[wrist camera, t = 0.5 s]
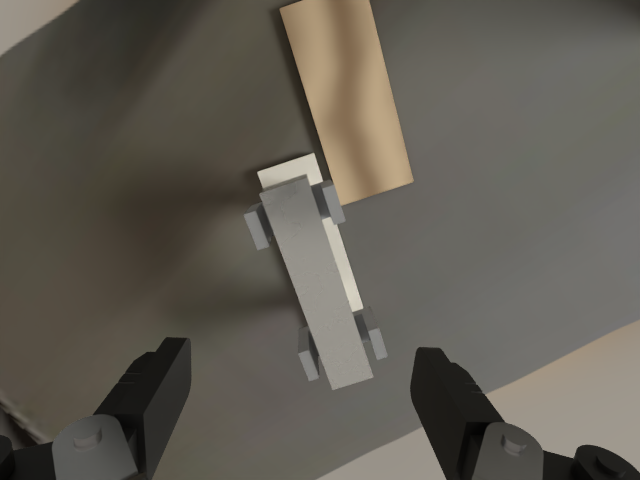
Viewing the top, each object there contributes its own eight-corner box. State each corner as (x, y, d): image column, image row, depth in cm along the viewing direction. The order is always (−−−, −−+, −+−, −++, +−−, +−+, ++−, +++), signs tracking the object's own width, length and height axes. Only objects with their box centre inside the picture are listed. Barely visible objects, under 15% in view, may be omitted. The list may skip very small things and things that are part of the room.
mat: (362, -19, 32) (363, -22, 31) (411, 181, 37) (413, 181, 36) (279, 10, 32) (279, 8, 31) (340, 204, 37) (340, 205, 37)
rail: (306, 173, 27) (307, 177, 24) (365, 352, 32) (373, 377, 28) (264, 187, 27) (259, 193, 24) (329, 363, 32) (332, 389, 29)
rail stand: (317, 151, 36) (325, 155, 24) (367, 310, 41) (394, 377, 29) (254, 172, 36) (232, 186, 24) (312, 328, 41) (317, 401, 29)
